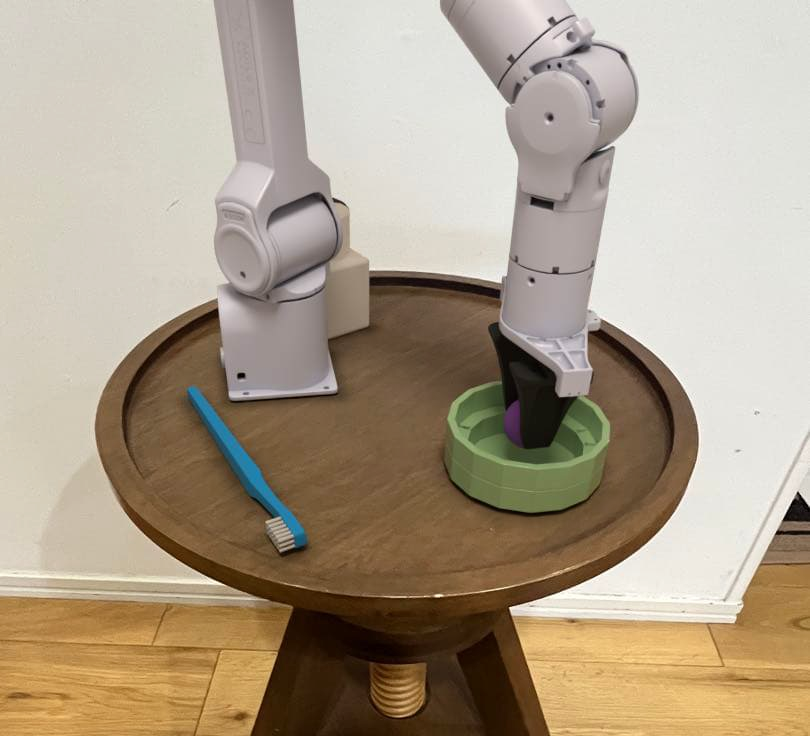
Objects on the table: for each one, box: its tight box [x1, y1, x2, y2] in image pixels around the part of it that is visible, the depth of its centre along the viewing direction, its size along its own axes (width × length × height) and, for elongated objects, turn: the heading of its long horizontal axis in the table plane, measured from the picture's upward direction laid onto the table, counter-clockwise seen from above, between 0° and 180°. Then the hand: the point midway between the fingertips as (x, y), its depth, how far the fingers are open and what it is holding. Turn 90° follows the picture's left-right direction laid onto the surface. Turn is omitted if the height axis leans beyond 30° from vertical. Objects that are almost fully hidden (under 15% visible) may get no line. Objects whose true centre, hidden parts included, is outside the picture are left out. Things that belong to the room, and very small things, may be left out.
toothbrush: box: [186, 385, 308, 554], centre depth 66 cm, size 23×2×2 cm
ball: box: [504, 399, 536, 449], centre depth 65 cm, size 4×4×4 cm
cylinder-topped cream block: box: [326, 196, 370, 341], centre depth 81 cm, size 7×7×12 cm
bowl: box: [443, 380, 611, 514], centre depth 66 cm, size 12×12×4 cm
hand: (527, 430), depth 65 cm, fingers closed on ball, 4 cm apart
